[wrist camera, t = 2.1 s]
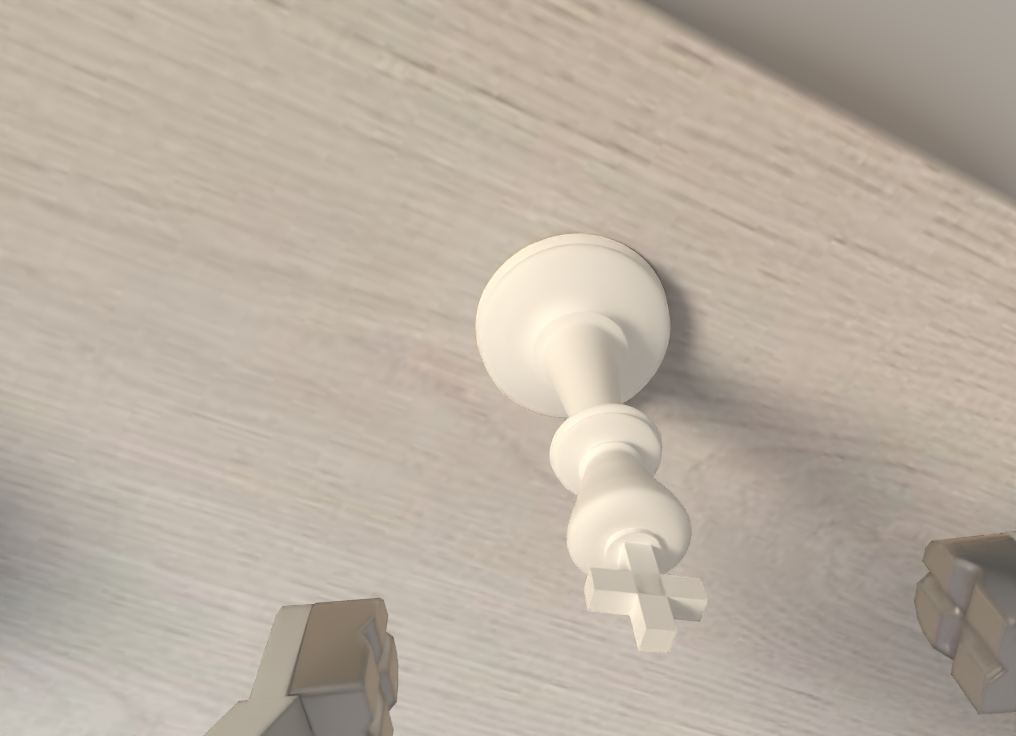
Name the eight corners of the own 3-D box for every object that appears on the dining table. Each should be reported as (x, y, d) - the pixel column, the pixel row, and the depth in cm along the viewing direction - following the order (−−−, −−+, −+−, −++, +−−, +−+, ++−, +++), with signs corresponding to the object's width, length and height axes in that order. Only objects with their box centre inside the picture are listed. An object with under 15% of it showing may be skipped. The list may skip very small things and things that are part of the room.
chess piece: (640, 417, 20) (767, 763, 11) (462, 395, 20) (454, 741, 11) (691, 249, 18) (900, 520, 9) (491, 218, 17) (510, 477, 8)
